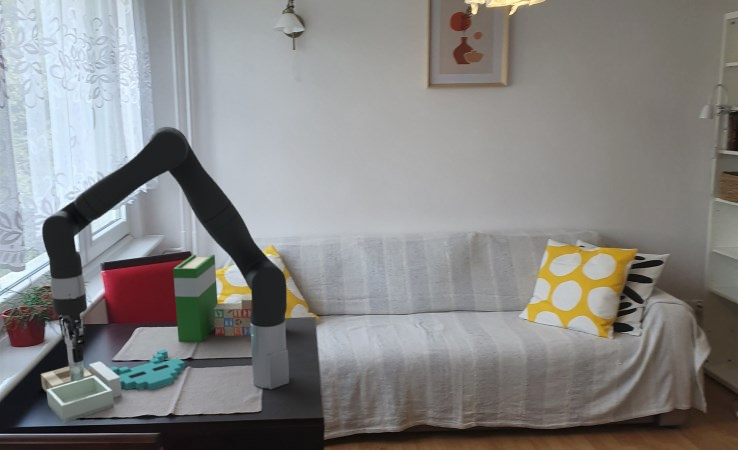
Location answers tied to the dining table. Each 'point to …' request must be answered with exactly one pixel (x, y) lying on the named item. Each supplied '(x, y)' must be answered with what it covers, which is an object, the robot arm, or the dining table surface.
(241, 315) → the stack of blocks
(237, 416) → the dining table surface
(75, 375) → the steel dowel
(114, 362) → the dining table surface
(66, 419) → the tray
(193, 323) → the hardback book
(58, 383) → the socket block
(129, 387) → the alien figure
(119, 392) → the bar
